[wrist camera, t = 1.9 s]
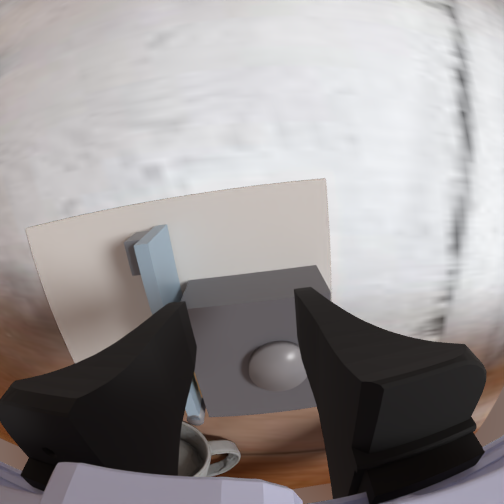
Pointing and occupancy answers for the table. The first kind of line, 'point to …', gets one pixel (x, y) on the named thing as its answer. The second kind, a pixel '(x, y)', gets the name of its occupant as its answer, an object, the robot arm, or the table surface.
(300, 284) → the camera housing
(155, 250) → the side door
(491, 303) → the table surface
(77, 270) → the mat
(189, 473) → the ceramic mug
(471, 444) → the robot arm
